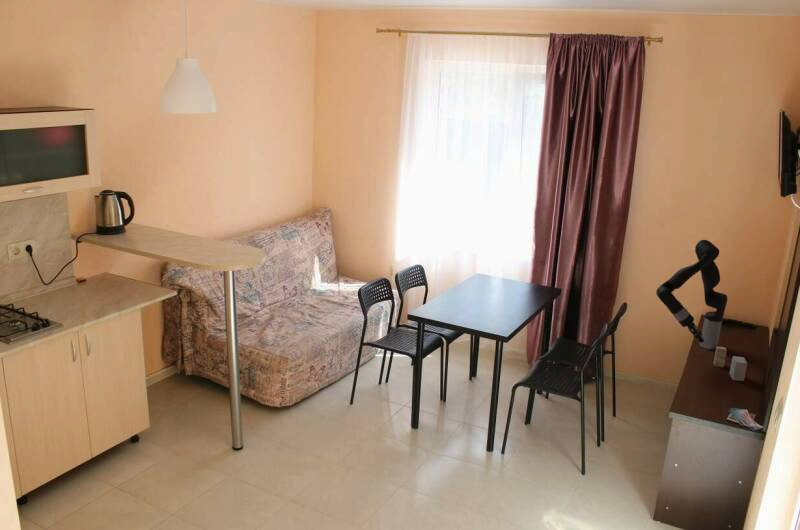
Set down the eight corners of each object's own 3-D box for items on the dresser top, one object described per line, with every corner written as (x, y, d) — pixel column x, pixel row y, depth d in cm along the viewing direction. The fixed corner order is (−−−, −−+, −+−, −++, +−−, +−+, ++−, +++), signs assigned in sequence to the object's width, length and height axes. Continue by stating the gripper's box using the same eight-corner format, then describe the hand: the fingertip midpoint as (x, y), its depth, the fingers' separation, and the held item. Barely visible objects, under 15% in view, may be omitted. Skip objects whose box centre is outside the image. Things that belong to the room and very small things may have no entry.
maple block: (713, 362, 394) (716, 346, 391) (722, 364, 393) (725, 347, 390) (714, 366, 390) (717, 349, 386) (723, 367, 389) (726, 350, 385)
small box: (743, 381, 373) (747, 363, 370) (732, 380, 374) (736, 362, 371) (740, 375, 381) (743, 357, 378) (729, 373, 382) (732, 355, 379)
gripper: (690, 317, 380) (709, 340, 381) (687, 307, 393) (706, 330, 394) (678, 325, 383) (697, 347, 384) (675, 315, 396) (694, 337, 397)
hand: (701, 338), depth 389 cm, fingers open, 8 cm apart
